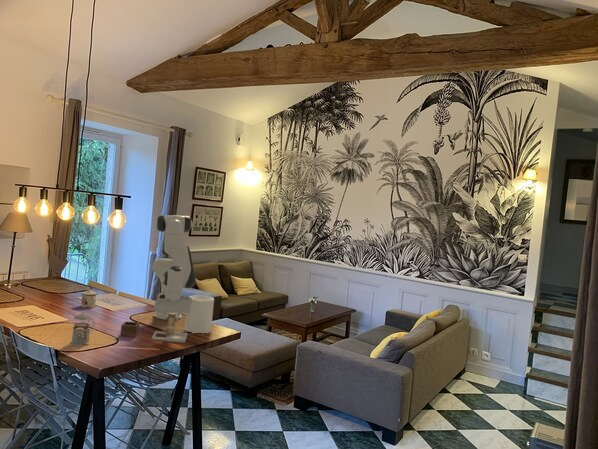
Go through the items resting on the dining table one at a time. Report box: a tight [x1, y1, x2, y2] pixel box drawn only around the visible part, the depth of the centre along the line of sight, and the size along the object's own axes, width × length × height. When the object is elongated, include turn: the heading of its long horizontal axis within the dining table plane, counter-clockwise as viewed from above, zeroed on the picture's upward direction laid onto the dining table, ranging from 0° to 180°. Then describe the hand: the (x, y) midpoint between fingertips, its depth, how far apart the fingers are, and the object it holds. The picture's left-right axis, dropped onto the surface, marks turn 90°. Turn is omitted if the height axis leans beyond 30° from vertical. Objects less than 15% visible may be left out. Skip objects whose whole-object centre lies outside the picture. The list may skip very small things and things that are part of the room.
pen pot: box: [119, 320, 140, 338], centre depth 245 cm, size 8×8×7 cm
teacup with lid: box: [80, 288, 97, 309], centre depth 299 cm, size 12×9×12 cm
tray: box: [151, 330, 189, 343], centre depth 248 cm, size 12×18×2 cm, turn 99°
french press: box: [69, 295, 96, 347], centre depth 226 cm, size 10×12×25 cm
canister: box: [184, 294, 215, 335], centre depth 270 cm, size 16×16×20 cm
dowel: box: [165, 313, 176, 337], centre depth 248 cm, size 4×4×12 cm
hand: (171, 319), depth 248 cm, fingers closed on dowel, 4 cm apart
